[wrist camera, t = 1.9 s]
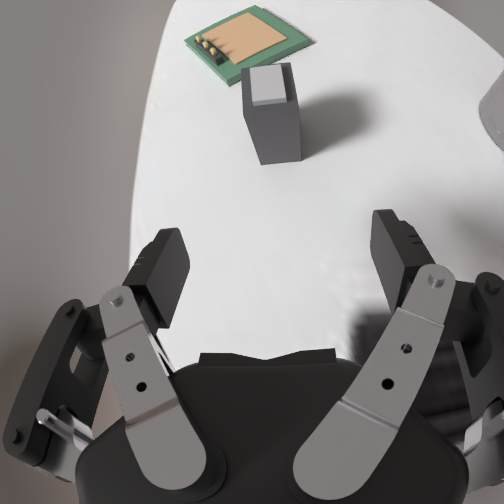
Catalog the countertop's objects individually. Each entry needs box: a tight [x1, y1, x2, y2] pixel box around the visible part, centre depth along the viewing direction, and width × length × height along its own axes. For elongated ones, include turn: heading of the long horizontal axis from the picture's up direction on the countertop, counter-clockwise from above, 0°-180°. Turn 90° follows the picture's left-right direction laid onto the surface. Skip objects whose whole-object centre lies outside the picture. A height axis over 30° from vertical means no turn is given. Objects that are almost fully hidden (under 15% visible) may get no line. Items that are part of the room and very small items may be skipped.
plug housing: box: [241, 62, 301, 165], centre depth 23 cm, size 4×5×10 cm
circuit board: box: [184, 5, 309, 86], centre depth 29 cm, size 12×12×3 cm
